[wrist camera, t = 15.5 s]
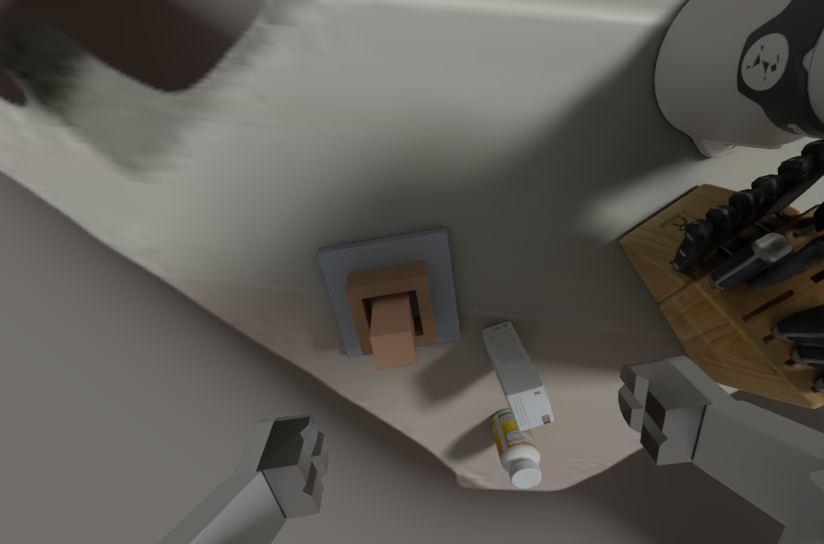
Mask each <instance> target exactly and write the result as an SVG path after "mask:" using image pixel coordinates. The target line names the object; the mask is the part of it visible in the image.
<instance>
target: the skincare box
mask: <svg viewBox="0 0 824 544" xmlns="http://www.w3.org/2000/svg"><path fill="white" fill-rule="evenodd" d="M481 333H482V337H483V340H484V344H485V346H486V349H487V352H488V354H489V357H490V360H491V362H492V365H493V367H494V370H495V372H496V375H497V377H498V380H499V382H500V385H501V387H502V390H503V392H504V395H505V397H506V400H507V402H508V405H509V407H510V409H511V412H512V414H513V416H514V419H515V421H516V424H517V426H518V429H519V431H520V432H521V431H525V430H528V429H531V428H534V427H538V426H541V425H544V424H547V423H550V422H553V421H554V417H553V414H552V411H551V405H550V401H549V400H548V397H547V393H546V390H545V387H544V384H543V382H542V380H541V378H540V376H539V374H538V372H537V370H536V368H535V367H534V365H533V363H532V361H531V359H530V357H529V355H528V353H527V352H526V350H525V348H524V346H523V344H522V342H521V340H520V338H519V336H518V334H517V332H516V330H515V329H514V327H513V325H512V323H511V321H507V322H503V323H500V324H497V325H494V326H490V327H487V328H485V329H482V331H481Z"/></svg>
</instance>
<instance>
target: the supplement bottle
mask: <svg viewBox="0 0 824 544" xmlns="http://www.w3.org/2000/svg"><path fill="white" fill-rule="evenodd" d="M491 427H492V431H493V435H494V438H495V442H496V446H497V450H498V453H499V457H500V461H501V464H502V466H503V468H504V469H505V470H506V471H507V472H509V476H510V479H511V482H512V484H513V485H514V486H515V487H518V488H522V489H527V488H531V487H534V486H536V485H537V484H538V483H539V482H540V481H541V478H542V475H541V472H540V469H539V466H538V465H539V462H540V455H539V452H538V449H537V447H536V444H535V441H534V439H533V436H532V434H531V431H530V429H528V430H525V431H521V432H520V431H519V429H518V426H517V424H516V421H515V419H514V416H513V414H512V412H511V409H505V410H502V411H500V412H498V413H497V414H496V415H495V416H494V417H493V418H492V422H491Z"/></svg>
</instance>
